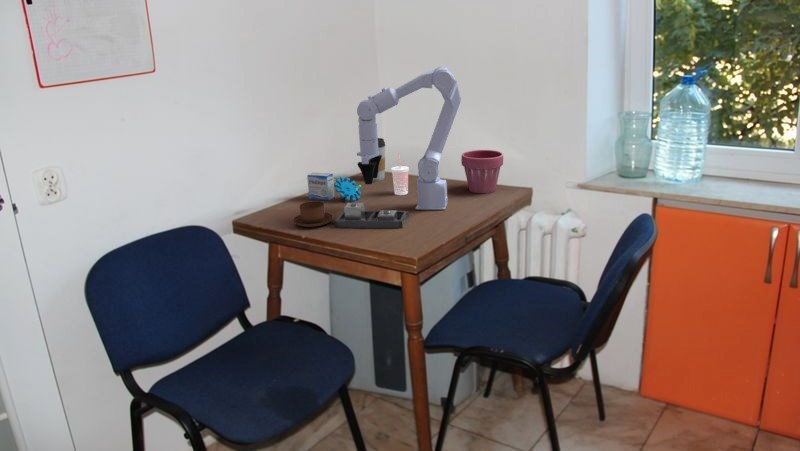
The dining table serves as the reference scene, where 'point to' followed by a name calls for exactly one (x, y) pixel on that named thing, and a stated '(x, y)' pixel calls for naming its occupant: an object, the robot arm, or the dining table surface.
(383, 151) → the coffee cup
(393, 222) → the grey flat rectangular frame
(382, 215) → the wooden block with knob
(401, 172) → the beverage cup
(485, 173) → the plant pot
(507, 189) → the dining table surface
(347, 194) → the gear
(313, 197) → the medicine box
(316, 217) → the cup and saucer
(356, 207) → the grey square block
